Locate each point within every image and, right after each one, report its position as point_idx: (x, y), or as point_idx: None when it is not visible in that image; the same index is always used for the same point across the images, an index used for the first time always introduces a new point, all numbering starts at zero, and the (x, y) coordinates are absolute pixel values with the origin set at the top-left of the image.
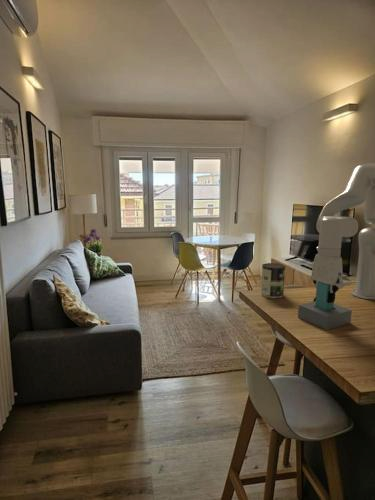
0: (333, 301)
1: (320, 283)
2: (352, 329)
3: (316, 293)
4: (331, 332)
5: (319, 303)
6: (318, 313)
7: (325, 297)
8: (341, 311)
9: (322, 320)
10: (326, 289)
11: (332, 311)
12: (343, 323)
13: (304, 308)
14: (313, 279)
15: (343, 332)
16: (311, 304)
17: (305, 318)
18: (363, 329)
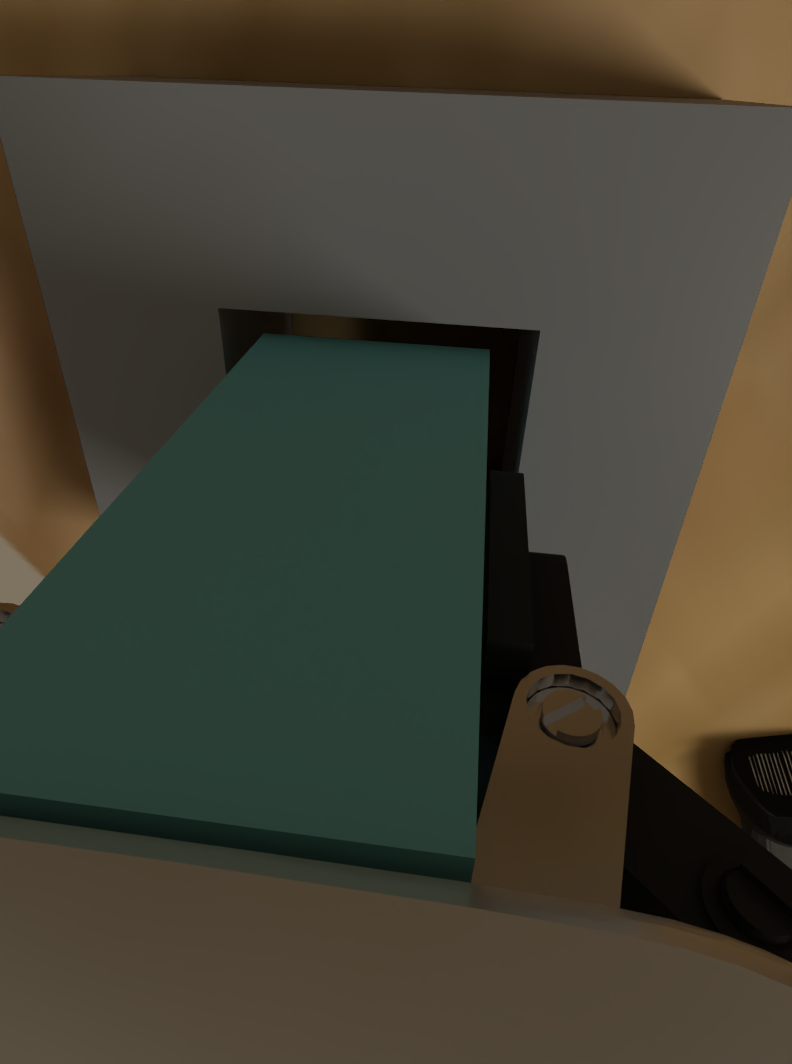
0: None
1: (269, 798)
2: (59, 417)
3: (480, 503)
4: (36, 75)
5: (380, 384)
6: (209, 83)
7: (169, 459)
8: None
9: (147, 79)
10: (30, 617)
11: (179, 410)
12: None
13: (612, 99)
14: (747, 963)
15: (6, 242)
16: (610, 397)
17: (546, 93)
18: (35, 507)
